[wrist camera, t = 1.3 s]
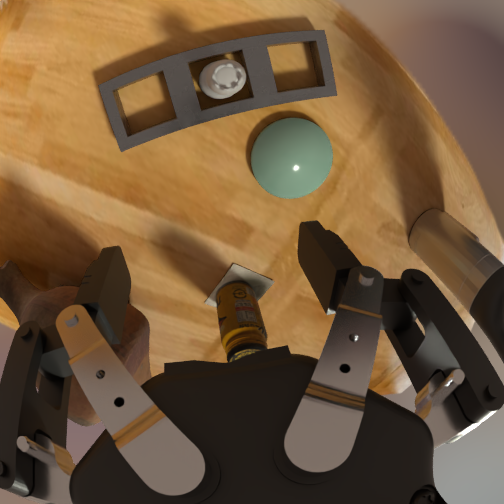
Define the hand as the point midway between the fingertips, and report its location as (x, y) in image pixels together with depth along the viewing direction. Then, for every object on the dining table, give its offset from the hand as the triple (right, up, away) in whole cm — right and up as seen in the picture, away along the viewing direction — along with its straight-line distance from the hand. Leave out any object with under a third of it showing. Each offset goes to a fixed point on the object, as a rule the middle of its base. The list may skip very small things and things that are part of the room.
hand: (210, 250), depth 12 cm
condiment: (0, -6, +30) cm, 30 cm away
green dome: (+6, +11, +19) cm, 23 cm away
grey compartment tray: (-2, +18, +13) cm, 22 cm away
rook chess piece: (-2, +18, +13) cm, 22 cm away
